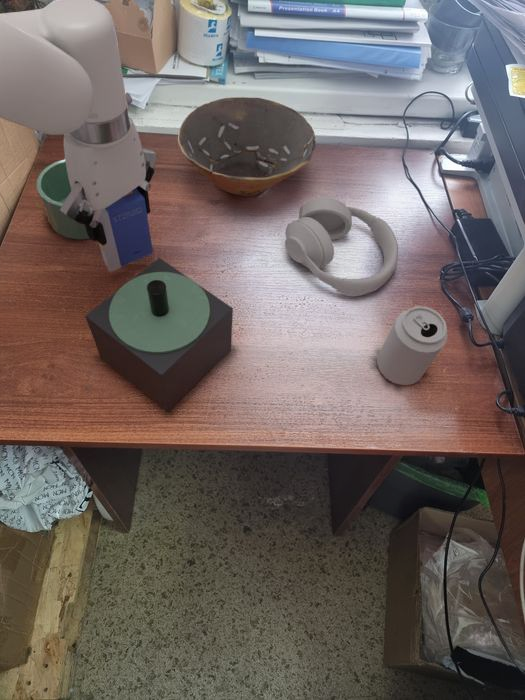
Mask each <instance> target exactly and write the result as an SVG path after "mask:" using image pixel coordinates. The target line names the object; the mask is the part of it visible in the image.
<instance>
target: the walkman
mask: <svg viewBox="0 0 525 700" xmlns="http://www.w3.org/2000/svg"><path fill="white" fill-rule="evenodd" d="M89 210H90V214H92V210H93V209H92V207H90V208H89ZM148 218H149V217H148V214H147V211H146V205H145V198H144V197H143V196H142V195H141V194H140V192H139V191H138V190H137V189H136V188H135V189H133V190H132V191H131V192H129V193H128V194H126V195H125V196H123V197H122V198H120V199H119V200H117V201H116V202H114V203H113V204H111V205H110V206H108V207H106V208H104V209H102V212H101V215H100V219H99V222H100V223H102V225H103V228H104V232H105V236H106V240H107V242H106V244H105V245H104V246H103V245H102V244H100V243H99V242H98V245H99V249H100V252H101V256H102V261H103V262H104V264H105V267H106V269H107V270H108V272H109V273H112V272H114V271H116V270H118V269H121V268H122V267H125V266H127V265H129V264H132V263H134V262H136V261H139V260H141V259H143V258H145V257H148V256H150V255H152V254H154V250H153V244H152V237H151V231H150V225H149V219H148Z"/></svg>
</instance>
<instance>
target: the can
mask: <svg viewBox="0 0 525 700" xmlns="http://www.w3.org/2000/svg"><path fill="white" fill-rule="evenodd" d="M447 340H448V327H447V322H446V320H445V318H444V317H443V316H442V315H441V314H440V313H439V312H438V311H437V310H435V309H433V308H431V307H429V306H421V305H418V306H417V305H416V306H412V307H410V308H408V309H406V310H404V311H401V313H400V314H399V315H398V316H397V317H396V319H395V320H394V322H393V324H392V326H391V329H390V330H389V332H388V334H387V337H386V339H385V341H384V342H383V344H382V346H381V348H380V350H379V352H378V355H377V357H376V359H377V360H376V361H377V363H376V365H377V367H378V369H379V371H380V373H381V374H382V376H384V378H385V379H387V380H388V381H390V382H392V383H394V384H397V385H401V386H409V385H413V384H416V383H417V382H419V381H420V380H421V378H422V377H423V376H424V375H425V374H426V372H427V371H428V369H429V368H430V366H431V365H432V364H433V362H434V360H435V359H436V358H437V356H438V355H439V353H440V352H441V350H442V349H443V348H444V346H445V345H446V343H447Z"/></svg>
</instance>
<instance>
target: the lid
mask: <svg viewBox="0 0 525 700" xmlns="http://www.w3.org/2000/svg"><path fill="white" fill-rule="evenodd" d="M185 276H186V275H185ZM185 276H182V275H179V274H175V273H170V272H154V273H148V274H144V275H141V276H138V277H136V278H134V277H133V278H134V279H133V278H132V280H131V279H130V280H129V281H127V282H126V283H124V284H123V285H122V286H121V287H120V288H118V289H117V290H118V291H117V290H116V291H117V293H116V294H115V296H114V297H113V299H112V301H111V304H110V308H109V320H110V324H111V327H112V329H113V331H114V333H115V335H116V336H117V337H118V338H119V339H120V340H121V341H122V342H123V343H124V344H126V345H127V346H129V347H131V348H133V349H135V350H138V351H141V352H145V353H153V354H162V353H169V352H174V351H177V350H180V349H182V348H184V347H186V346H188V345H190V344H191V343H193V342H194V341H195V340H196V339H198V338H199V336H200V335H201V334H202V333H203V331H204V330H205V328H206V326H207V324H208V321H209V317H210V305H209V301H208V298H207V296H206V294H205V292H204V291H203V290H202V288H201V287H202V286H201V285H200V286H201V287H200V286H199V284H198V283H197V282H195V281H194V280H193V279H191V278H190V277H188V276H187V277H188V278H187V277H185ZM189 278H190V279H189ZM196 283H197V284H196Z"/></svg>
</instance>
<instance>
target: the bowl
mask: <svg viewBox="0 0 525 700" xmlns="http://www.w3.org/2000/svg"><path fill="white" fill-rule="evenodd" d="M316 142H317V141H316V135H315V131H314V129H313V127H312V126H311V124H310V122H308V121H307V119H306V118H305V116H303V115H302V114H300V112H298V111H296V110H295V109H293V108H291V107H289V106H287V105H285V104H282V103H279V102H276V101H274V100H270V99H267V98H262V97H245V96H237V97H236V96H235V97H224V98H219V99H216V100H213V101H210V102H207V103H204V104H202V105H199V106H198V107H196V108H195V109H194V110H192V111H191V112H190V113H189V114H188V115H187V116H186V117H185V118H184V120H183V121H182V123H181V124H180V127H179V128H178V136H177V144H178V146H179V148H180V150H181V152H182V154H183V155H184V156H185V158H186V159H187V160H188V161H189V162H190V163H191V164H192V165H193V166H194V167H195V168H196V169H197V170H198V171H199V172H200V174H202V175H203V176H204V177H205V178H206V179H207V180H208V181H209V182H211V183H212V184H213V185H215V186H216V187H217V188H219V189H220V190H222V191H224V192H227V193H230V194H233V195H236V196H243V197H244V196H245V197H247V196H255V195H259V194H260V193H262V192H264V191H266V190H268V189H269V188H272V187H273V186H275V185H277V184H278V183H281V182H282V181H284V180H286V179H288V178H289V177H291V176H293V175H294V174H296V173H297V172H298V171H300V170H301V169H303V168H304V167H305V166H306V165H307V164H309V162H310V161H311V160H312V157H313V153H314V151H315V149H316V145H317V143H316Z"/></svg>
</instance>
